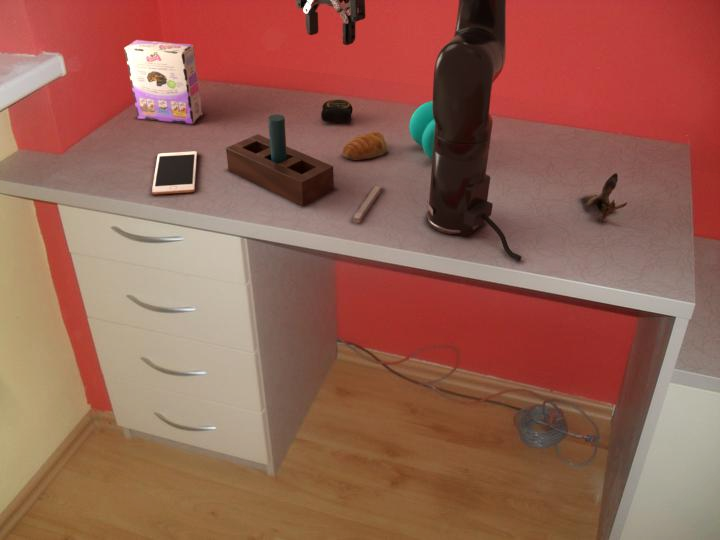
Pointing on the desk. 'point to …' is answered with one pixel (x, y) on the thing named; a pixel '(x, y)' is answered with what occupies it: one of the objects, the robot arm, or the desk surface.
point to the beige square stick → (366, 204)
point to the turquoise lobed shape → (423, 127)
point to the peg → (277, 138)
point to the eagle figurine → (604, 198)
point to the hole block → (281, 170)
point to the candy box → (164, 81)
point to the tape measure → (336, 111)
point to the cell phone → (175, 173)
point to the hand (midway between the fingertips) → (330, 38)
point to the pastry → (366, 146)
